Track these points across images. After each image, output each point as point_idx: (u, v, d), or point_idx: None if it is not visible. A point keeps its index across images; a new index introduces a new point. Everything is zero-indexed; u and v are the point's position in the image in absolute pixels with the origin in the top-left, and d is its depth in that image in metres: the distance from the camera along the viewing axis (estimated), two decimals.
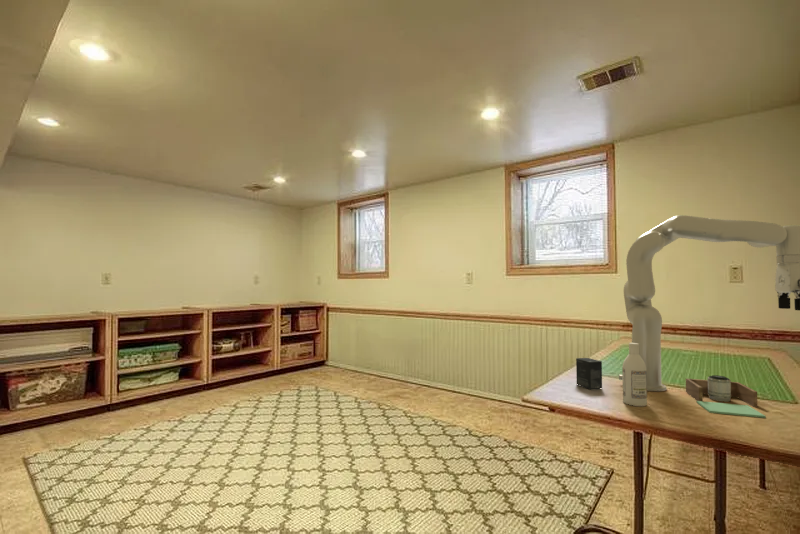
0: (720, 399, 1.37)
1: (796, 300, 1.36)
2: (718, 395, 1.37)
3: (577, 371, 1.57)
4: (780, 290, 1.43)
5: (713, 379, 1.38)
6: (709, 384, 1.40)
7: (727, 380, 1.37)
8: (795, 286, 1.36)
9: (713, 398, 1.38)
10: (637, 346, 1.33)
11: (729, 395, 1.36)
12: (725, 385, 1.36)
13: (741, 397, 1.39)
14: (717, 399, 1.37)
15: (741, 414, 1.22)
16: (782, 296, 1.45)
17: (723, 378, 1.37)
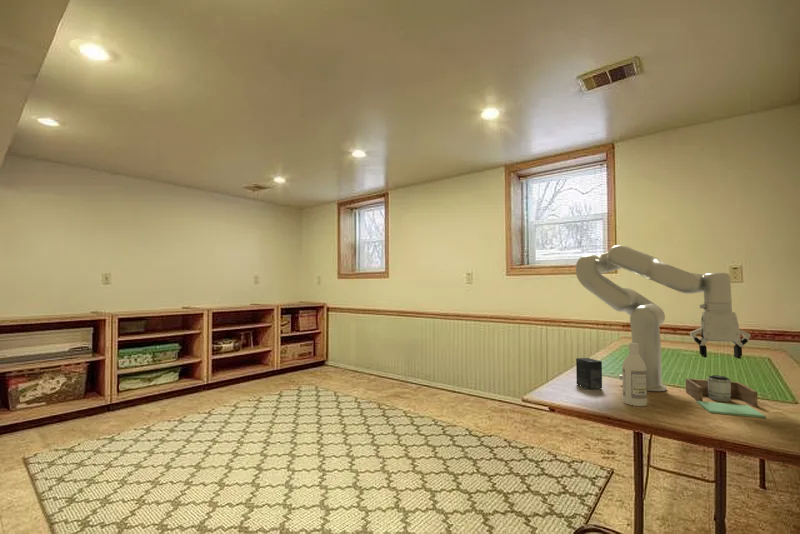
0: (720, 399, 1.37)
1: None
2: (718, 395, 1.37)
3: (577, 371, 1.57)
4: (719, 339, 1.37)
5: (713, 379, 1.38)
6: (709, 384, 1.40)
7: (727, 380, 1.37)
8: None
9: (713, 398, 1.38)
10: (637, 346, 1.33)
11: (729, 395, 1.36)
12: (725, 385, 1.36)
13: (741, 397, 1.39)
14: (717, 399, 1.37)
15: (741, 414, 1.22)
16: None
17: (723, 378, 1.37)
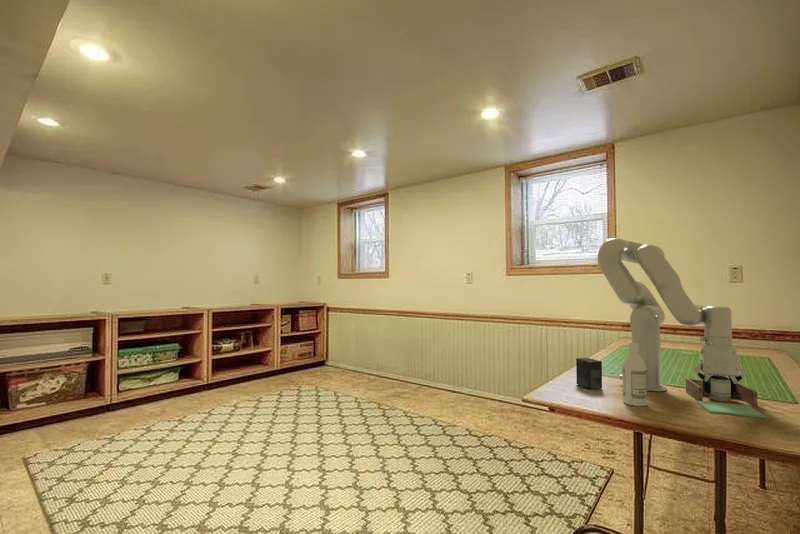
0: (720, 399, 1.37)
1: None
2: (718, 395, 1.37)
3: (577, 371, 1.57)
4: (719, 373, 1.37)
5: (713, 379, 1.38)
6: None
7: (727, 380, 1.37)
8: None
9: (713, 398, 1.38)
10: (637, 346, 1.33)
11: (729, 395, 1.36)
12: (725, 385, 1.36)
13: (741, 397, 1.39)
14: (717, 399, 1.37)
15: (741, 414, 1.22)
16: None
17: (723, 378, 1.37)
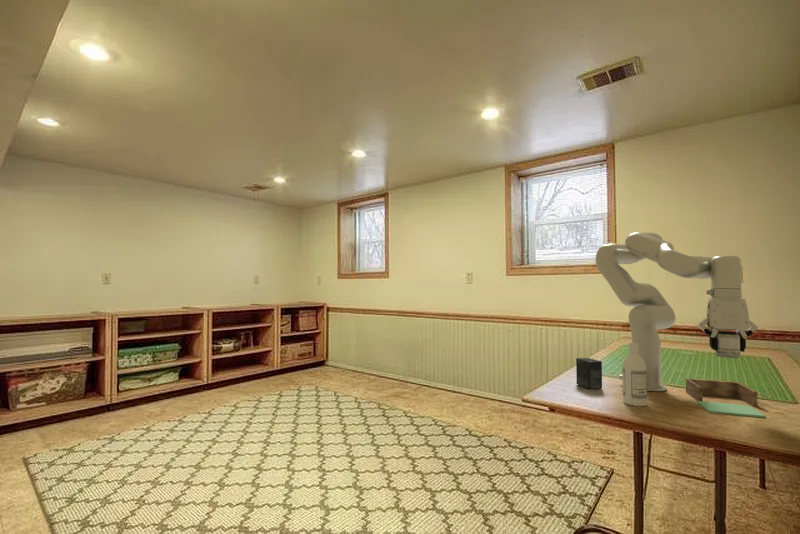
0: (729, 355, 1.26)
1: None
2: (726, 352, 1.26)
3: (577, 371, 1.57)
4: (727, 327, 1.26)
5: (721, 334, 1.27)
6: None
7: (736, 335, 1.26)
8: None
9: (721, 355, 1.27)
10: (637, 346, 1.33)
11: (738, 351, 1.25)
12: (734, 341, 1.25)
13: (741, 397, 1.39)
14: (726, 355, 1.26)
15: (741, 414, 1.22)
16: None
17: (732, 333, 1.26)
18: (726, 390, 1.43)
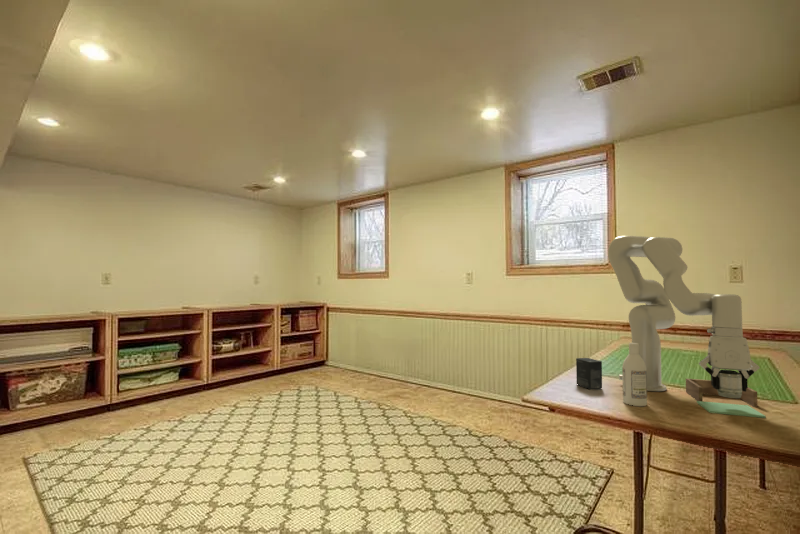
0: (730, 395, 1.25)
1: None
2: (728, 392, 1.25)
3: (577, 371, 1.57)
4: (728, 367, 1.26)
5: (722, 374, 1.27)
6: None
7: (738, 375, 1.25)
8: None
9: (723, 394, 1.27)
10: (637, 346, 1.33)
11: (740, 391, 1.25)
12: (735, 380, 1.25)
13: (741, 397, 1.39)
14: (727, 395, 1.26)
15: (741, 414, 1.22)
16: None
17: (733, 372, 1.26)
18: None
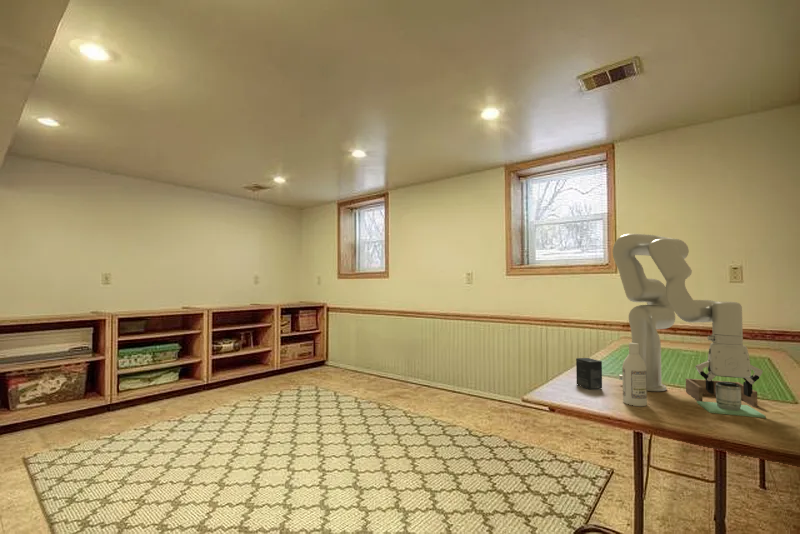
0: (729, 408, 1.25)
1: None
2: (727, 404, 1.26)
3: (577, 371, 1.57)
4: (728, 375, 1.26)
5: (722, 386, 1.27)
6: (717, 391, 1.28)
7: (737, 387, 1.25)
8: None
9: (722, 406, 1.27)
10: (637, 346, 1.33)
11: (739, 403, 1.25)
12: (735, 393, 1.25)
13: (741, 397, 1.39)
14: (727, 407, 1.26)
15: (741, 414, 1.22)
16: None
17: (733, 385, 1.26)
18: None
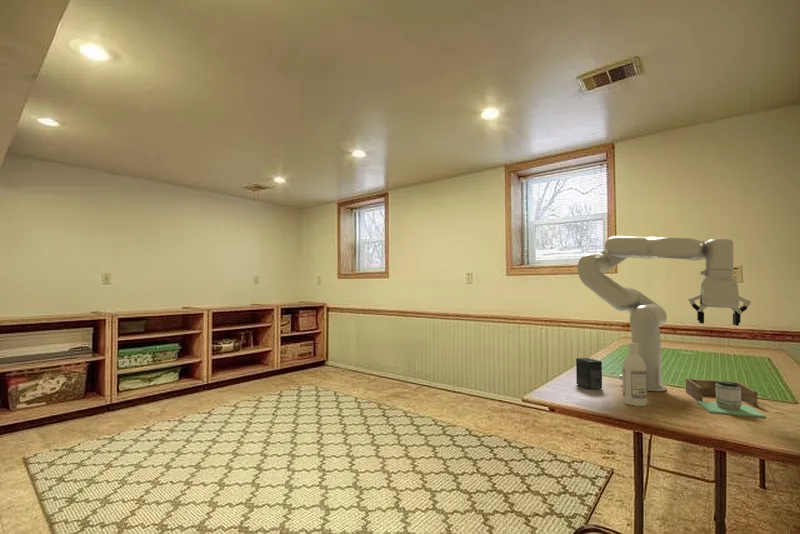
0: (729, 408, 1.25)
1: None
2: (727, 404, 1.26)
3: (577, 371, 1.57)
4: (718, 305, 1.37)
5: (722, 386, 1.27)
6: (717, 391, 1.28)
7: (737, 387, 1.25)
8: None
9: (722, 406, 1.27)
10: (637, 346, 1.33)
11: (739, 403, 1.25)
12: (735, 393, 1.25)
13: (741, 397, 1.39)
14: (727, 407, 1.26)
15: (741, 414, 1.22)
16: None
17: (733, 385, 1.26)
18: None
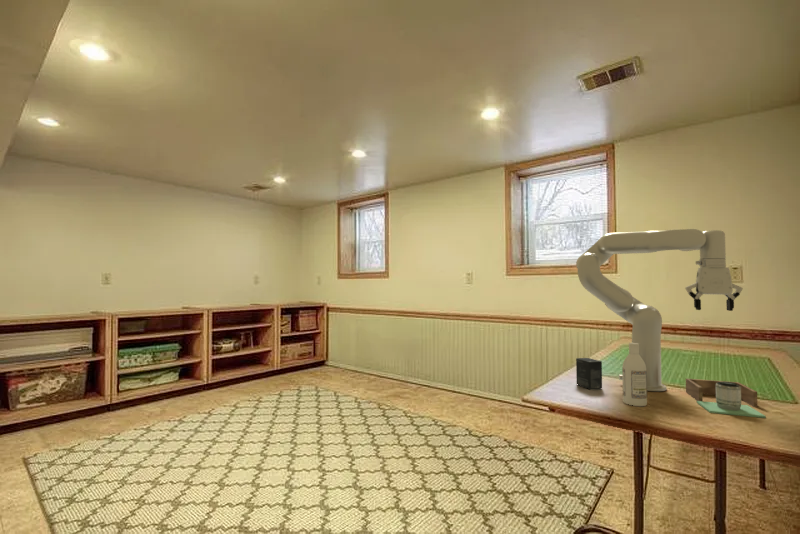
0: (729, 408, 1.25)
1: None
2: (727, 404, 1.26)
3: (577, 371, 1.57)
4: (713, 292, 1.46)
5: (722, 386, 1.27)
6: (717, 391, 1.28)
7: (737, 387, 1.25)
8: None
9: (722, 406, 1.27)
10: (637, 346, 1.33)
11: (739, 403, 1.25)
12: (735, 393, 1.25)
13: (741, 397, 1.39)
14: (727, 407, 1.26)
15: (741, 414, 1.22)
16: None
17: (733, 385, 1.26)
18: None
